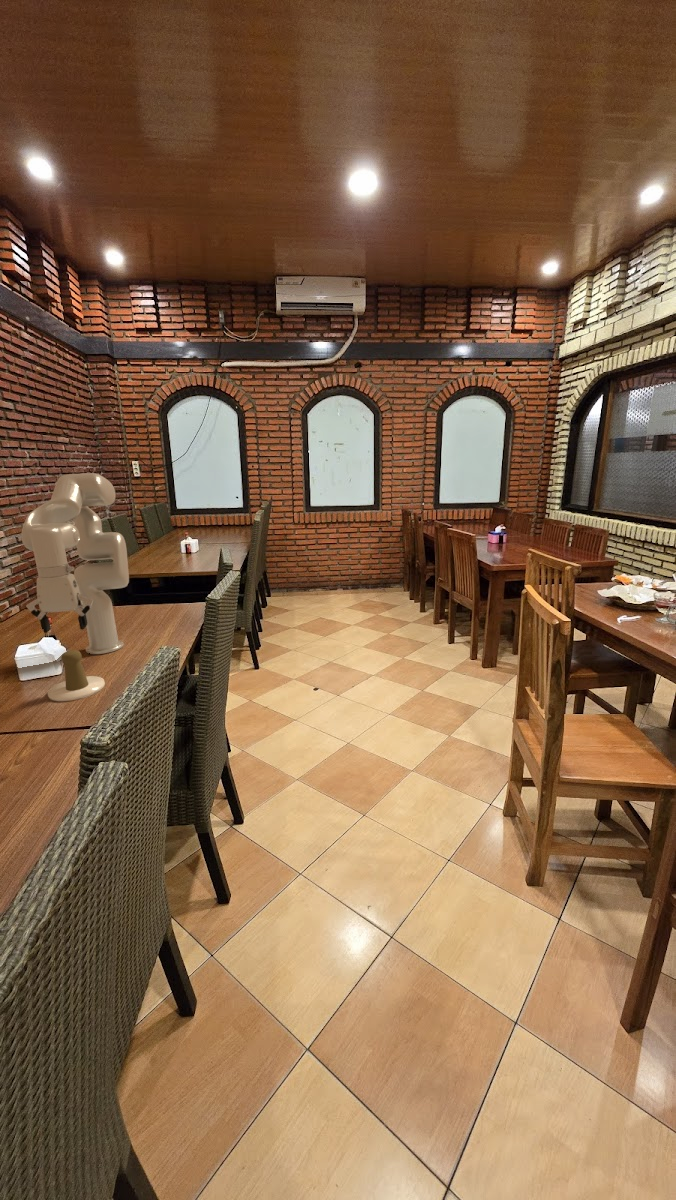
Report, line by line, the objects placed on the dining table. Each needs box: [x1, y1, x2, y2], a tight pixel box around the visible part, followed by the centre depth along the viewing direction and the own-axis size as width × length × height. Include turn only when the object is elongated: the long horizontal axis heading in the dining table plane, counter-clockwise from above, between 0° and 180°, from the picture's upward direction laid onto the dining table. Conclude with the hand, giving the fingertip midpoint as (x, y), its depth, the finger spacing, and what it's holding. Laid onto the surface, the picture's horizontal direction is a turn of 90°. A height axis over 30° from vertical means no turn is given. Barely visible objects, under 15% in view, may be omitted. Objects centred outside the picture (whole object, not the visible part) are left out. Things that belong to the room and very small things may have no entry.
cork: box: [60, 649, 88, 691], centre depth 141 cm, size 6×6×11 cm
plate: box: [47, 675, 106, 702], centre depth 142 cm, size 15×15×1 cm
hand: (65, 629), depth 138 cm, fingers open, 9 cm apart
